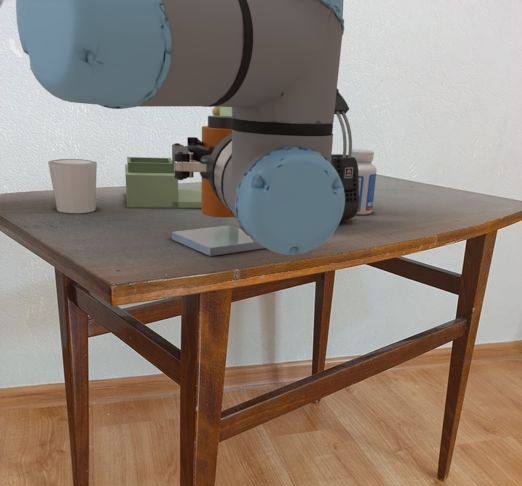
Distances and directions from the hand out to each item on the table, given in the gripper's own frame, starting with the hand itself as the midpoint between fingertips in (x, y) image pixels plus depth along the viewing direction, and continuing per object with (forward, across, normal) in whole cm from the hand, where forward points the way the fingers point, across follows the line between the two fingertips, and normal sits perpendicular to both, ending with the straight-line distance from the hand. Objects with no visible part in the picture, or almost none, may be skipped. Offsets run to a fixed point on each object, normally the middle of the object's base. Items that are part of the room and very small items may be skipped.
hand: (216, 149), depth 75 cm
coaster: (-5, 0, -11) cm, 12 cm away
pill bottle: (+15, +26, -11) cm, 32 cm away
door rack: (+24, -3, -11) cm, 26 cm away
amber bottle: (-5, 0, -7) cm, 9 cm away
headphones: (+15, +16, -11) cm, 24 cm away
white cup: (+16, -19, -11) cm, 27 cm away
